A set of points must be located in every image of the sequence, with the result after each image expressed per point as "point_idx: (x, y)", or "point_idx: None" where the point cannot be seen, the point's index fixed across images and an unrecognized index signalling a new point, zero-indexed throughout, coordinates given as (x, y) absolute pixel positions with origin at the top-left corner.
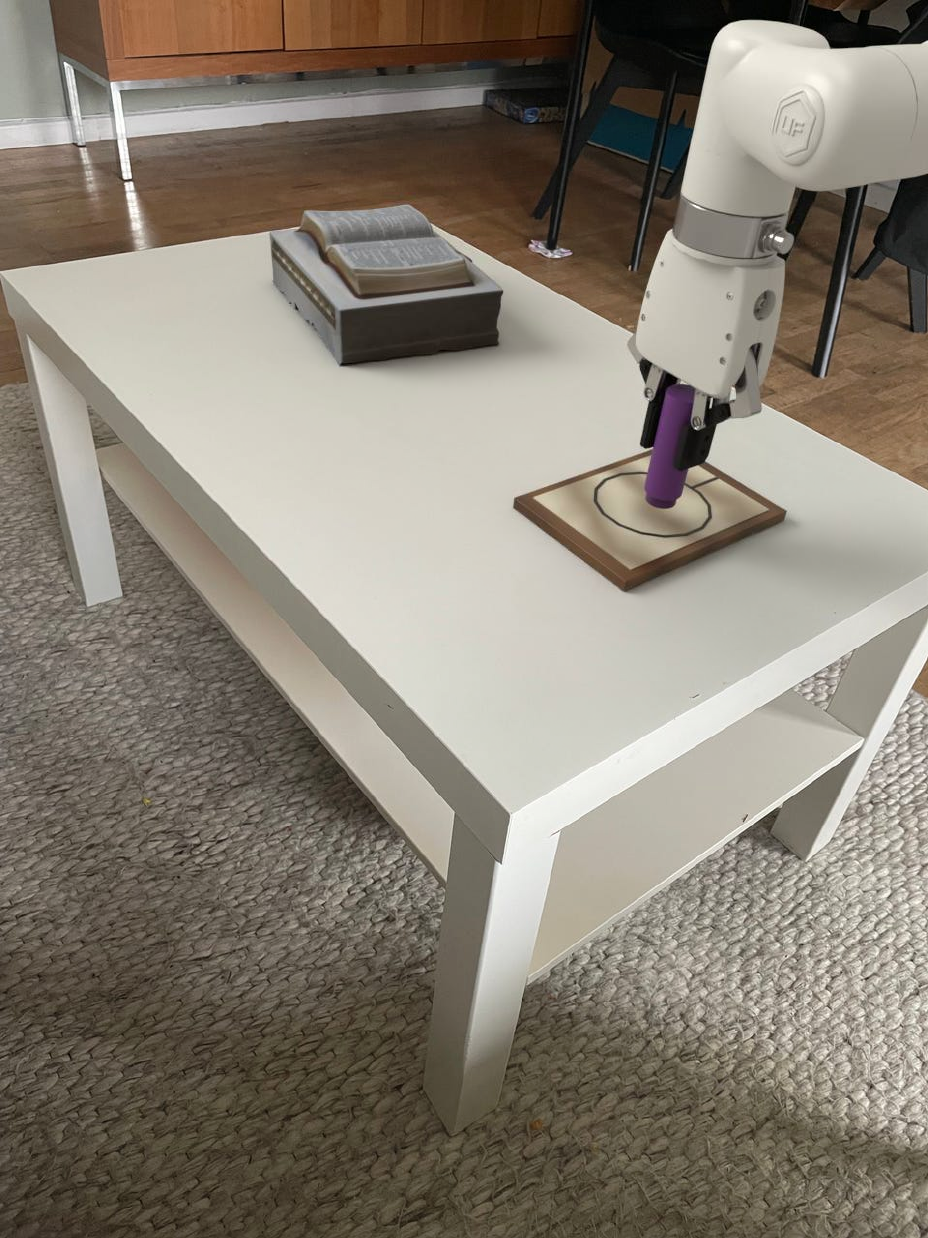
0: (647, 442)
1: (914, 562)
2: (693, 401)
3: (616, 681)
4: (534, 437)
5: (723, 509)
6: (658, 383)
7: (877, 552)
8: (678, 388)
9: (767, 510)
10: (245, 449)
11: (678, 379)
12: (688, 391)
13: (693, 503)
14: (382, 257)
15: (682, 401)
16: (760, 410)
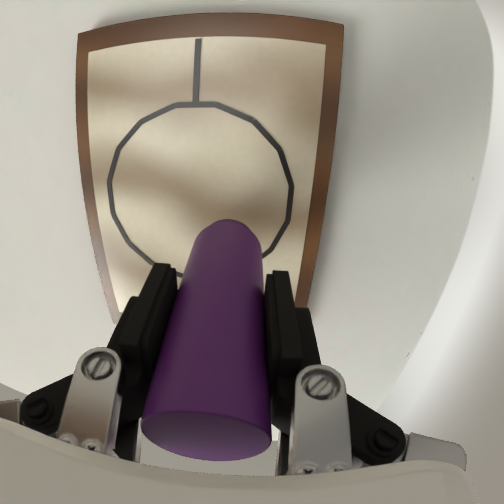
0: None
1: (481, 16)
2: (255, 451)
3: (357, 382)
4: (6, 199)
5: (277, 109)
6: (139, 454)
7: (453, 19)
8: (170, 438)
9: (325, 50)
10: (24, 377)
11: (118, 414)
12: (197, 435)
13: (233, 139)
14: None
15: (237, 459)
16: (463, 454)
